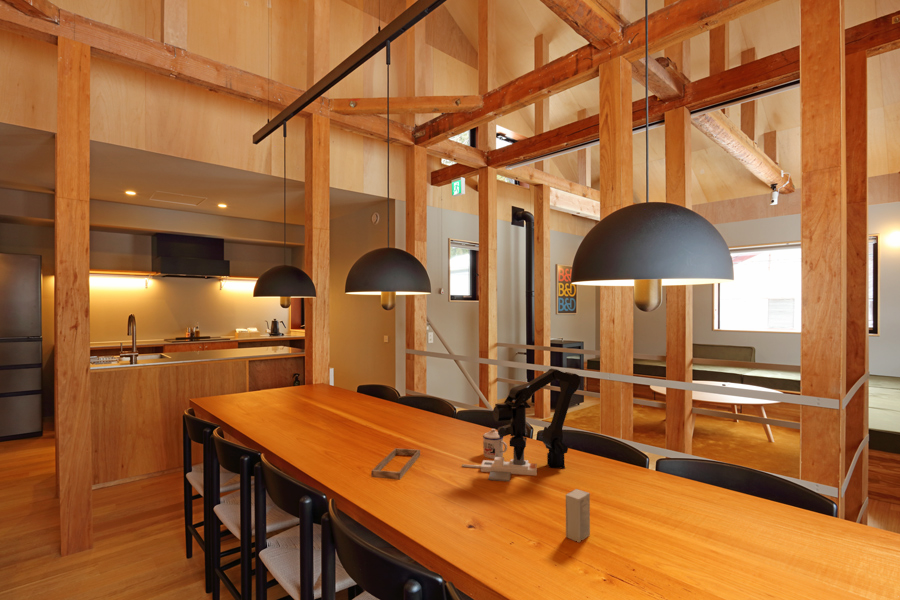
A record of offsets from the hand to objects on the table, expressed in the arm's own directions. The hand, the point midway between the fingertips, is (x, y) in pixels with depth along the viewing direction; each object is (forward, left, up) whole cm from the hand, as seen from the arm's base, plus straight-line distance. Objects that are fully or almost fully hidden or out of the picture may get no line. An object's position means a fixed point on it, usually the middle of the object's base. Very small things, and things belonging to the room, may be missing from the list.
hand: (518, 458), depth 177 cm
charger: (0, 0, -2) cm, 2 cm away
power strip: (+8, 0, -5) cm, 10 cm away
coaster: (+7, +8, -5) cm, 12 cm away
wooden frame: (+50, +4, -5) cm, 50 cm away
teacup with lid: (+11, -16, -5) cm, 20 cm away
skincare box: (-19, +49, -5) cm, 53 cm away
